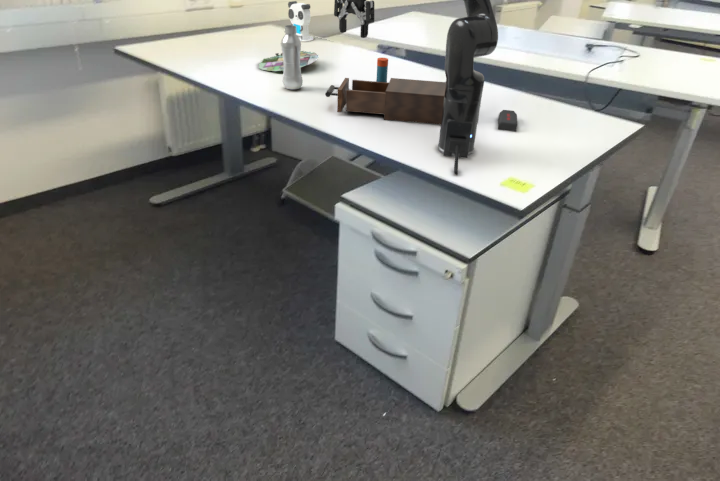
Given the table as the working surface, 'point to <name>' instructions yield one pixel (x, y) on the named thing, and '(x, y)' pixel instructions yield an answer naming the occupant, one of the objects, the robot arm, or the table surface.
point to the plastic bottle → (291, 58)
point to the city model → (277, 61)
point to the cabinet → (414, 101)
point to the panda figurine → (300, 19)
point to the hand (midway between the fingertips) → (353, 34)
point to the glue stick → (382, 69)
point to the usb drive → (507, 120)
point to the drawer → (360, 96)
